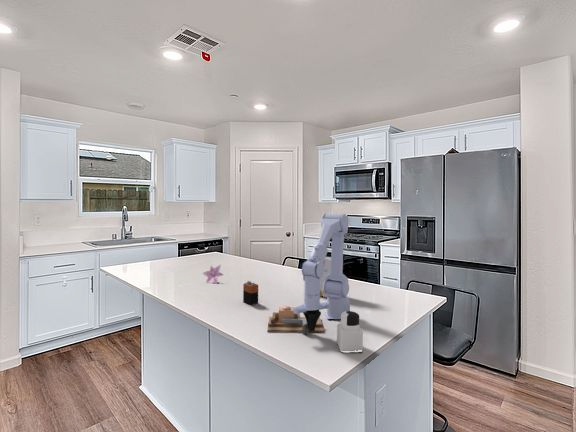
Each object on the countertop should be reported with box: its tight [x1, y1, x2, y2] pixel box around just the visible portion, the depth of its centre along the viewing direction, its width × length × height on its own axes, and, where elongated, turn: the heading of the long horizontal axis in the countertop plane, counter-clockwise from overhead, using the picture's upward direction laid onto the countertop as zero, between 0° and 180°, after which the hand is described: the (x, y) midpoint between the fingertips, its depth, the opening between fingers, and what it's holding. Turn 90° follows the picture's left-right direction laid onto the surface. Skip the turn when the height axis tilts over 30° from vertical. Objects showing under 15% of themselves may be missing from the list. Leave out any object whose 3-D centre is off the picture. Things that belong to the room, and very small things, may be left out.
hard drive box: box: [320, 256, 344, 298], centre depth 170 cm, size 16×8×20 cm, turn 62°
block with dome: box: [278, 305, 294, 323], centre depth 130 cm, size 6×4×6 cm, turn 91°
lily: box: [202, 264, 224, 285], centre depth 196 cm, size 12×12×10 cm
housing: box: [267, 311, 324, 333], centre depth 128 cm, size 21×14×3 cm, turn 90°
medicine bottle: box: [336, 310, 364, 351], centre depth 108 cm, size 7×7×12 cm
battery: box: [242, 280, 259, 306], centre depth 156 cm, size 4×7×10 cm, turn 44°
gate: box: [282, 319, 308, 335], centre depth 123 cm, size 9×8×3 cm
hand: (311, 330), depth 120 cm, fingers closed
